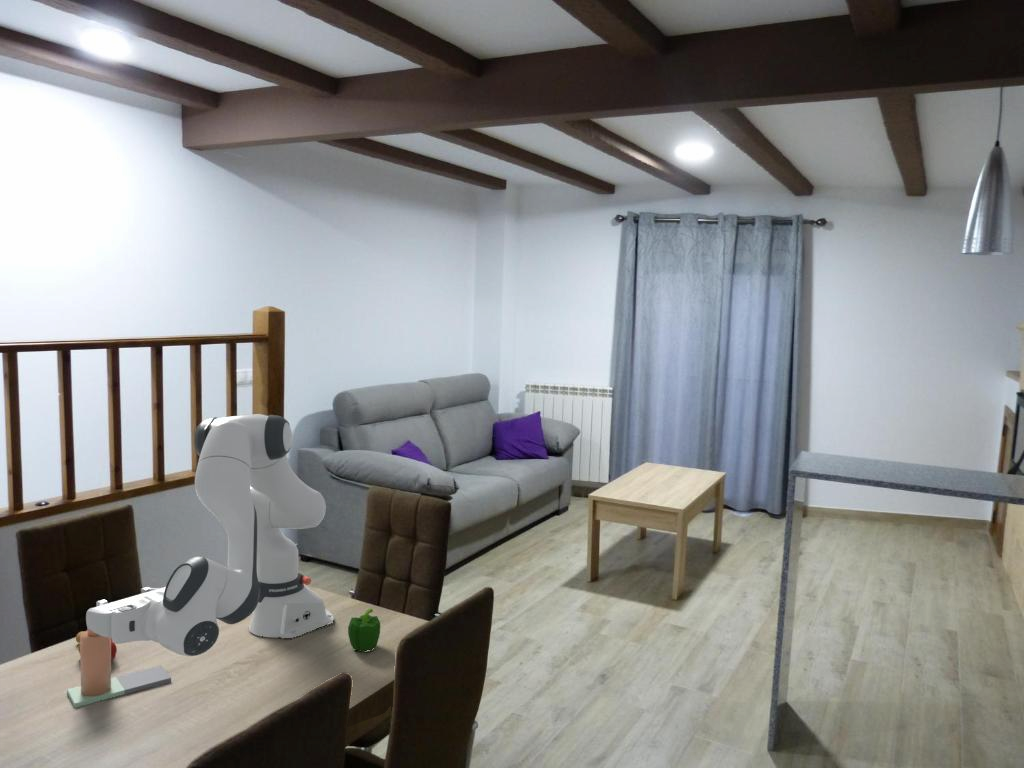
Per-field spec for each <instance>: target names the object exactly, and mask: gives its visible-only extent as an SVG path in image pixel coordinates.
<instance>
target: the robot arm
mask: <svg viewBox="0 0 1024 768" xmlns="http://www.w3.org/2000/svg"><path fill="white" fill-rule="evenodd" d="M292 441H293V432H292V427H291V425H290V423H289V421H288V420H287V419H286V418H284V417H283V416H280V415H275V414H269V415H266V414H261V413H255V414H242V415H233V416H224V417H223V416H222V417H216V416H215V417H211V418H207V419H204V420H202V421H201V422H200V423H199V424H198V425H197V427H196V429H195V432H194V448H195V452H196V454H197V456H198V457H199V458H198V462H197V466H196V470H195V476H194V489H195V493H196V496H197V498H198V499H199V501H200V502H201V504H202V505H203V506H204V507H205V508H206V509H207V510H208V511H209V512H210V513H212V514H213V515H214V517H215V518H216V519H217V520H218V521H219V523H220V524H221V526H222V527H223V528H224V531H225V532H226V536H227V539H228V545H227V549H228V550H227V566H225V565H222V564H221V563H219V562H216V561H214V560H211V559H209V558H207V557H204V556H202V555H197V556H196V555H195V556H193V557H190V558H188V559H187V560H185V561H183V562H182V563H181V564H179V565H178V566H177V567H176V568H175V569H174V571H172V573H171V576H170V577H169V579H168V580H167V582H166V585H165V586H163V587H150V586H146V587H143V588H140V592H141V593H139V594H135V595H132V596H128V597H124V598H122V599H118V600H115V601H111V602H108V600H106V599H101V600H97V601H96V602H95V603H96V604H95V605H96V606H94V607H90V608H89V609H88V610H87V611H86V614H85V621H86V622H85V623H86V627H88V628H89V629H90V630H91V631H93V632H95V633H97V634H99V635H101V636H103V637H109V638H110V637H112V641H113V642H114V643H115V645H120V644H125V643H132V642H133V643H134V642H141V641H143V642H147V641H149V642H150V641H152V642H154V643H158V644H159V645H160V646H161V647H163V648H164V649H167V650H169V651H170V652H173V653H175V654H178V655H180V656H186V657H195V656H196V657H197V656H199V655H202V654H204V653H206V652H208V651H210V649H212V648H213V646H214V645H215V644H216V642H217V640H218V639H219V634H220V628H219V625H218V622H217V621H218V620H219V621H222V623H225V624H227V625H235V624H238V623H240V622H242V621H244V620H246V619H247V618H248V617H249V616H251V620H250V622H249V626H248V631H249V632H250V633H251V634H252V635H255V636H258V637H262V636H263V637H262V638H278V637H281V639H284V638H292V637H295V636H298V635H300V636H302V635H301V634H303V633H305V632H308V633H310V632H309V631H311V630H313V629H315V628H319V627H321V626H323V625H326V624H328V623H330V622H333V620H334V621H335V618H334V615H333V614H332V612H331V611H329V610H328V609H326V605H325V602H324V599H323V598H322V597H321V595H319V594H318V593H317V592H315V591H313V590H312V589H311V588H309V587H307V586H309V585H311V583H312V578H311V577H308V576H307V575H304V574H302V573H299V549H298V547H297V545H296V544H295V542H294V541H293V540H291V539H290V538H288V537H287V536H286V535H284V534H283V533H282V531H281V529H292V530H304V529H312V528H316V527H318V526H319V525H320V524H321V522H322V521H323V520H324V517H325V515H326V509H327V505H326V500H325V498H324V496H323V494H321V492H320V491H318V490H316V489H314V488H312V487H311V486H309V485H307V484H306V483H305V482H304V481H303V480H301V479H300V478H299V476H297V474H296V473H295V472H294V470H293V468H292V467H291V465H290V463H289V458H288V456H287V455H288V453H289V452H290V449H291V446H292ZM329 617H330V618H329ZM319 629H320V628H319ZM311 632H312V631H311ZM303 635H304V634H303ZM298 637H299V636H298ZM295 638H296V637H295ZM292 639H293V638H292Z"/></svg>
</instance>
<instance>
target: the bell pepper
mask: <svg viewBox="0 0 1024 768" xmlns="http://www.w3.org/2000/svg"><path fill="white" fill-rule="evenodd" d="M373 612H374V609H373V608H369V609H367V610H366V611H365V613H364V614H363V615H360V616H358V617H357V616H356V617H351V618H350V621H349V623H348V626H347V635H348V638H349V643H350V646H351V647H352V650H354V649H355V650H361V651H367V650H372V649H373V648H375V647H376V648H377V645H378V641H379V638H380V635H381V622H380V620H379V617H378V615H376V616H375V615H373V616H372V615H370V613H373ZM376 648H375V649H376ZM355 650H354V651H355ZM361 651H360V652H361Z"/></svg>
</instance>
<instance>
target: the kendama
mask: <svg viewBox="0 0 1024 768" xmlns="http://www.w3.org/2000/svg"><path fill="white" fill-rule="evenodd" d="M85 631H86V630H85ZM85 631H83V630H82V631H79V632H78V633H77V634H76V636H75V642H77V643H78V645H77V647H78V653H79V654H80V635H81V634H82V633H83V632H85ZM117 651H118V650H117V644H116V643H114V642H113V641H112V637H111V662H112V661H113V660H114V658H115V657H116V655H117Z"/></svg>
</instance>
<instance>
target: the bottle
mask: <svg viewBox="0 0 1024 768" xmlns="http://www.w3.org/2000/svg"><path fill="white" fill-rule="evenodd" d="M86 627H87V626H86ZM86 629H87V630H85V632H83V633H82V634H81V635H80V653H79V656H80V686H81V694H82V695H84V696H98V695H102V694H104V693H106V692H108V691H109V690H110V689H111V678H112V661H111V637H110V638H109V637H103V636H101V635H99V634H97V633H95V632H93V631H91V630H90V629H89V628H88V627H87V628H86Z"/></svg>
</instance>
